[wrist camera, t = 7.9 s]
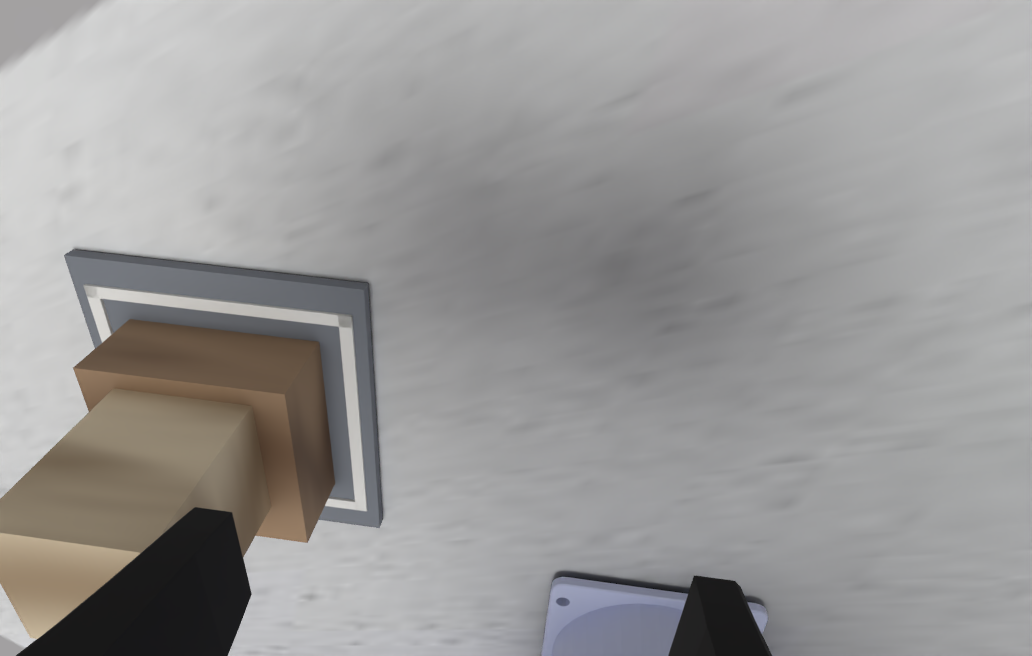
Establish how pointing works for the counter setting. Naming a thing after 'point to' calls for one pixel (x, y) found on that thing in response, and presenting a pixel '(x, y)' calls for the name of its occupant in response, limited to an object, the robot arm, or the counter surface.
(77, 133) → the counter surface
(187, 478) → the maple block
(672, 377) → the counter surface
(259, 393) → the walnut base
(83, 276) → the grey flat square plate
